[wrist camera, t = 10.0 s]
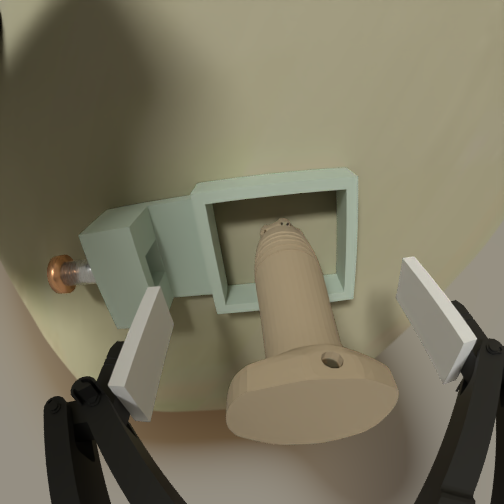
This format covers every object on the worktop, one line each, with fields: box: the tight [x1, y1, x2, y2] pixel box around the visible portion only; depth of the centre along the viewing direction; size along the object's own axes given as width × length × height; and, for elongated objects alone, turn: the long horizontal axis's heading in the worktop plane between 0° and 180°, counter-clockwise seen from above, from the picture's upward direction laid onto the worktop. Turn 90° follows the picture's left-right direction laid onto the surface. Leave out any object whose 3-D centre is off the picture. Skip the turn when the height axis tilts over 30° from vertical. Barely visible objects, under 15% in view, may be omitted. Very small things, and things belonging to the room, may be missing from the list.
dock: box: [78, 167, 358, 329], centre depth 21 cm, size 10×18×5 cm, turn 97°
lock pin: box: [47, 255, 97, 294], centre depth 21 cm, size 3×7×3 cm, turn 97°
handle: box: [226, 218, 399, 445], centre depth 16 cm, size 5×6×15 cm
